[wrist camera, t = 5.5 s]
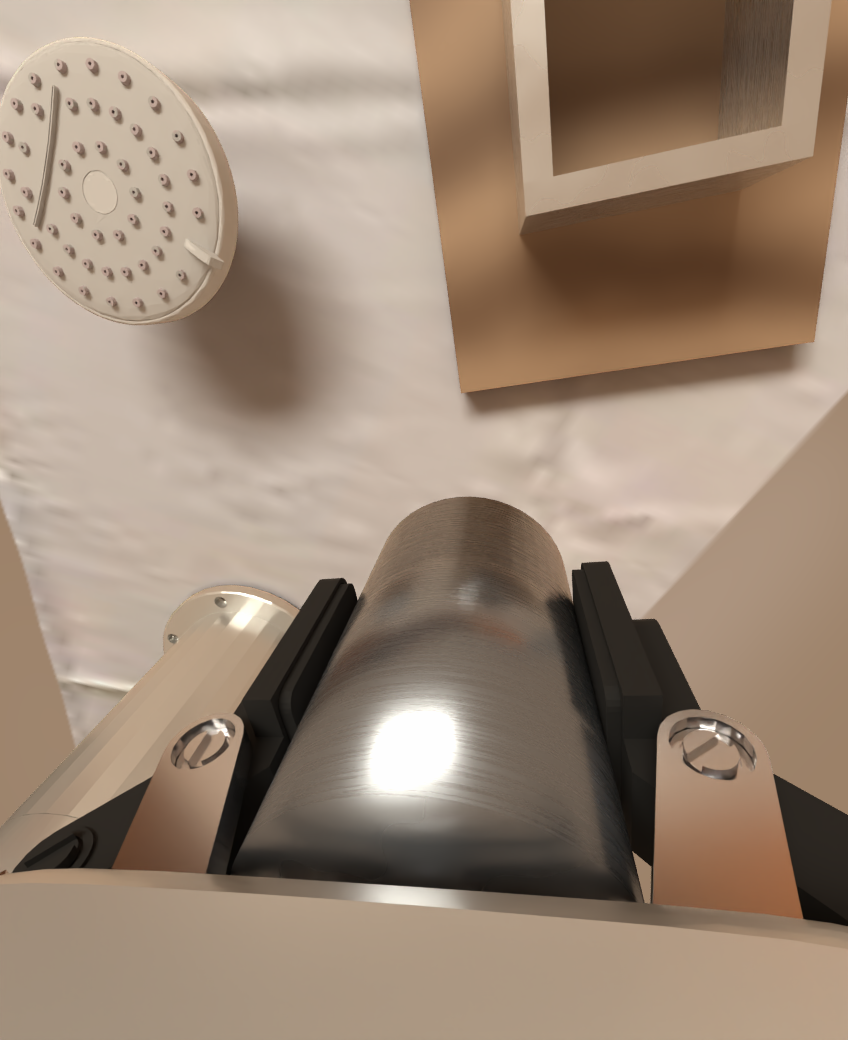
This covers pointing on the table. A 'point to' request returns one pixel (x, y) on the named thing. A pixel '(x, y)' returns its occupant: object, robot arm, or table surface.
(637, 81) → the board
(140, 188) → the showerhead
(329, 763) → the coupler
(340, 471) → the table surface
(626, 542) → the table surface
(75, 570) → the table surface
